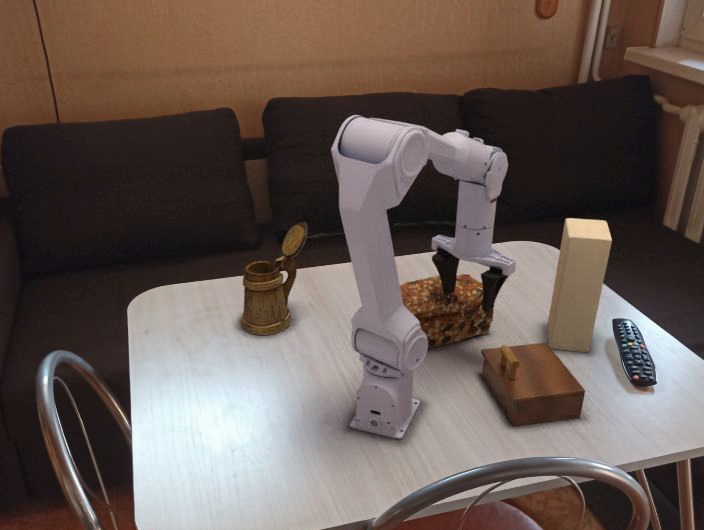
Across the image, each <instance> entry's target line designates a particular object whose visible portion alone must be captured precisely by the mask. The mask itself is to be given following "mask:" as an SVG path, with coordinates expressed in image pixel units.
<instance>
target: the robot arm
mask: <svg viewBox="0 0 704 530" xmlns="http://www.w3.org/2000/svg"><path fill="white" fill-rule="evenodd" d="M469 136H470V132H469V131H467V130H462V129H458V128H456V129H455V131H451V132H447V133H444V134H442V135H441V134H439V133H437V132H435V131H433V130H431V129H429V128H428V127H426V126H424V125H418V124H414V123H413V124H412V123H408V122H403V121H397V120H392V119H391V120H390V119H384V118H377V117H369V118H368V117H364V116H363V115H359V114H354V115H351V116H349V117H347V118H346V119H345V120H344V121H343V122H342V124H341V126H340V127H339V129H338V131H337V134H336V137H335V138H334V141H333V143H332V146H331V149H330V153H331V157H332V161H333V166H334V170H335V174H336V178H337V183H338V208H339V214H340V218H341V222H342V227H343V231H344V236H345V241H346V245H347V248H348V252H349V258H350V261H351V266H352V270H353V274H354V278H355V282H356V287H357V290H358V295H359V299H360V303H361V306H360V307H359V308H358V309H357V310H356V312H355V313H354V315H353V316H352V318H351V319H350V323H351V328H352V329H351V330H352V331H351V341H350V342H351V347H352V349H353V350H354V351H355V352H356V353H358V354H359V361H360V362H361V363H362V365H363V377H362V381H361V383H360V385H359V387H358V389H357V391H356V394H355V396H356V397H355V409H356V410H355V415H354V417H353V419H352V420H351V422H350V424H349V426H350V428H352V429H356V430H359V431H364V432H367V433H372V434H374V435H375V434H376V435H379V436H384V437H388V438H393V439H396V440H402V439H404V437H405V434H406V432H407V430H408V428H409V427H410V425H411V422H412V420H413V418H414V417H415V415H416V412H417V411H418V408H419V407H420V405H421V400H419V399H416V398H413V392H414V391H413V390H414V372H415V371H416V370H418V369H419V368H420V367H421V366H422V364H423V363H424V361H425V359H426V356H427V353H428V349H429V348H428V341H427V336H426V334H425V333H424V332H423V331H422V329H421V326H420V322H419V320H418V319H417V318H416V317H415V316H414V315H413V314H412V313H411V312H410V311H408V310H407V309H406V307H405V306H404V305H403V300H402V295H401V289H400V285H401V283H400V279H399V272H398V268H397V267H398V266H397V262H396V257H395V252H394V248H393V247H394V246H393V241H392V234H391V229H390V224H389V219H388V212H387V210H390V209H392V208H395V207H397V206H399V205H400V204H401V202H402V201H403V199H404V197H406V195H407V193H408V191H409V189H410V188H411V186H412V185H413V183H414V182H415V180H416V178H417V177H418V175H419V173H420V172H421V171H422V170H423V167H425V166H426V165H427V163H428V160H431V161H432V164H433V167H434V168H435V169H436V171H437V172H439V173H441V174H442V175H446V176H447V177H448V176H449V177H452V178H453V179H454V180H455V181H458V180H459V181H458V193H457V207H456V220H455V233H454V237H449V236H446V235H442V234H438V235H436V236H434V237H432V238H431V250H433V251H436V252H435V254H432V256H431V261H432V263H433V264H434V266H435V268H436V270H437V272H438V276H440V279H441V283H442V287H443V292H444V295H446V296H448V295H449V294H451V293H453V292H454V291H455V286H456V276H457V275H458V268H459V265H460V261H464V262H471V263H476V264H479V265H482V266H485V267H487V268H489V269H487V270H485V271H484V272H482V273H480V278H481V279H480V280H481V282H482V284H483V300H482V310H484V311H488V310H489V309H491V308H493V309H494V307H493V305H494V306H495V303H496V300H497V298H498V295H499V293H500V290H501V289H502V287H503V285H504V284H505V283H506V281H507V279H508V278H509V277H510V276H511V275H512V274H514V273H515V272H516V265H517V260H515V259H513V258H510V257H509V256H506V255H505V254H503V253H502V252H500V251H499V250H496V249H495V248H494V247H493V238H494V237H493V236H494V228H495V218H496V211H497V210H496V209H497V198H498V197H499V196H500V195H501V192H502V189H503V182H504V179H505V177H506V175H507V172H508V167H509V163H508V157H507V154H506V153H505V152H504V150H503V149H502V148H500V147H497V146H493V145H487V144H485V143H484V139H482V138H480V137H479V138H478V137H473V138H471V137H469Z"/></svg>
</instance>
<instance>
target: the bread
mask: <svg viewBox="0 0 704 530" xmlns="http://www.w3.org/2000/svg"><path fill="white" fill-rule="evenodd" d="M400 289H401V295H402V300H403V305H404V306H405V307H406V309H407V310H408V311H410V312H411V313H412V314H413V315H414V316H415V317H416V318H417V319H418V320H419V322H420V326H421V329H422V331H423V332H424V333H425V334H426V336H427V341H428V349H429V348H431V349H432V348H435V347H439V346H444V345H448V344H453V343H457V342H461V341H463V340H465V339H469V338H471V337H472V338H473V337H475V336H478V335H485V334H487V333H488V332H489V331H490V329H491V324H492V323H493V321H494V319H493V318H494V312H495V311H494V308H495V304H494V305H493V308H491V309H489V310H488V311H484V310H482V300H483V284H482V281H481V282H480V281H479V280H477V279H476V278H474V277H473V276H472V275H471V274H469V273H468V274H467V273H465V274H464V273H463V274H457V276H456V286H455V291H454V292H453V293H451V294H449V295H448V296H446V295H444V292H443V287H442V283H441V279H440V276H439V275H435V276H428V277H426V278H425V277H424V278H420V279H416V280H413V281H406V282H405V283H402V284H400Z"/></svg>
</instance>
